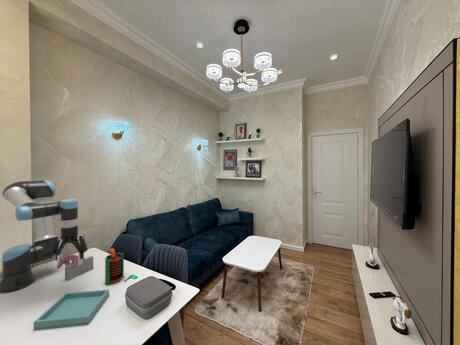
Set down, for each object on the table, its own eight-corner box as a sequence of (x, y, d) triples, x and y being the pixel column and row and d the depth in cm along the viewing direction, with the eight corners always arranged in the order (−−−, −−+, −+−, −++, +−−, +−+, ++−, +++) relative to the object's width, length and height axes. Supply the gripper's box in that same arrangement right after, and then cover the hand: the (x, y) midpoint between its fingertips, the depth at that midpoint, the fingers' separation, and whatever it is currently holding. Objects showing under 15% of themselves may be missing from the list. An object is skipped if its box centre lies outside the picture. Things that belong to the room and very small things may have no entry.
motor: (113, 286, 115) (113, 253, 115) (101, 284, 117) (100, 252, 117) (125, 277, 125) (125, 247, 125) (114, 275, 127) (114, 245, 127)
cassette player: (91, 268, 136) (90, 254, 136) (93, 269, 135) (93, 255, 135) (65, 280, 122) (64, 264, 121) (67, 281, 121) (67, 265, 120)
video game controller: (79, 268, 109) (82, 254, 112) (73, 268, 105) (77, 254, 108) (61, 268, 109) (65, 255, 112) (55, 268, 104) (59, 254, 107)
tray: (33, 329, 84) (33, 322, 84) (65, 299, 104) (65, 292, 104) (88, 324, 87) (88, 316, 87) (109, 295, 107) (109, 289, 107)
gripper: (41, 229, 103) (42, 270, 103) (87, 227, 107) (87, 266, 107) (52, 225, 111) (53, 263, 111) (94, 223, 114) (95, 260, 114)
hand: (70, 265), depth 109 cm, fingers closed on video game controller, 10 cm apart
